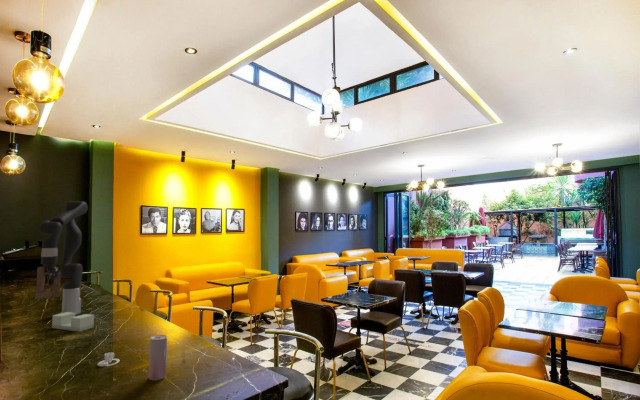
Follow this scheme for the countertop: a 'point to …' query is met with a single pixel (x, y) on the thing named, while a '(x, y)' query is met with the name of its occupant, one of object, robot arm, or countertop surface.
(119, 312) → the countertop surface
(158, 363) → the beverage can
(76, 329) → the slotted beam
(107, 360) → the teacup and saucer
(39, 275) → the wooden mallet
